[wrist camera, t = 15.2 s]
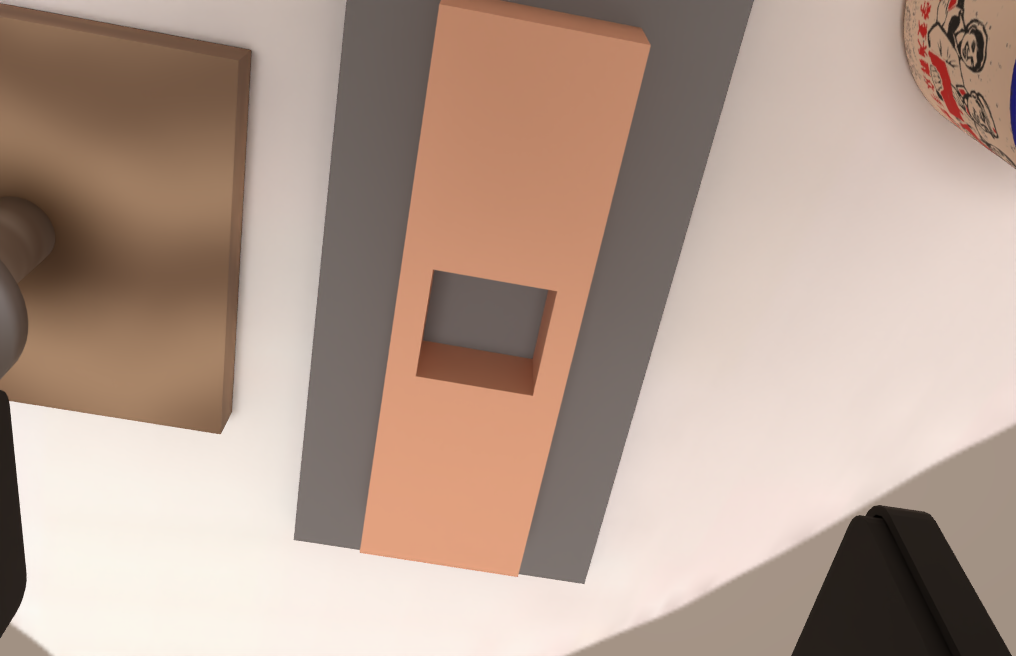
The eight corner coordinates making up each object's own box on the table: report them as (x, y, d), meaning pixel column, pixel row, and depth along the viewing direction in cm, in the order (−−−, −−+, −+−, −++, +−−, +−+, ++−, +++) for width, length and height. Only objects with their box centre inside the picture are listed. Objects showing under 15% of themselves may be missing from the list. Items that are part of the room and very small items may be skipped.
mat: (361, -100, 29) (356, -97, 28) (752, -23, 29) (758, -18, 28) (299, 523, 40) (294, 540, 39) (583, 567, 40) (584, 583, 40)
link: (446, -11, 29) (439, 4, 26) (641, 28, 29) (651, 45, 27) (369, 509, 38) (359, 552, 36) (518, 533, 38) (517, 577, 36)
